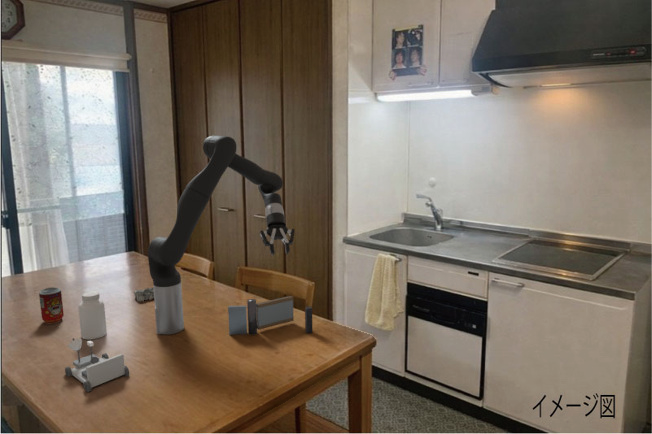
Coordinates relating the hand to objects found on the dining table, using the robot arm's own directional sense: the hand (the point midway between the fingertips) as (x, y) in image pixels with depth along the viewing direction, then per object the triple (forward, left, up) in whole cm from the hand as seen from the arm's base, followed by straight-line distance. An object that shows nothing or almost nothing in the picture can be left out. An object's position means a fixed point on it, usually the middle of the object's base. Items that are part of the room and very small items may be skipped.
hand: (280, 253), depth 180 cm
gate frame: (-9, -19, -23) cm, 31 cm away
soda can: (-82, +19, -23) cm, 88 cm away
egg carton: (-50, +34, -24) cm, 65 cm away
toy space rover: (-63, -29, -24) cm, 73 cm away
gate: (-6, -14, -22) cm, 27 cm away
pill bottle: (-66, 0, -23) cm, 70 cm away
